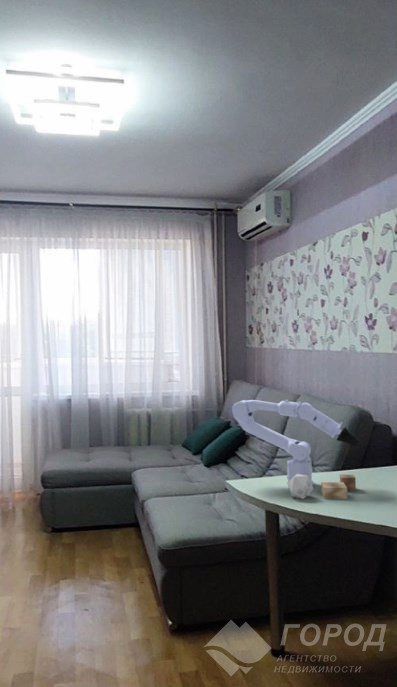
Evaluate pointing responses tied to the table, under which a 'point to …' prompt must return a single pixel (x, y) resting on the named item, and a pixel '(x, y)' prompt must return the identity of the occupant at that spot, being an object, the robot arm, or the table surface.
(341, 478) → the walnut cube
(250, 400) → the robot arm
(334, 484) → the oak block
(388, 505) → the table surface
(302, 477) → the white faceted polyhedron
